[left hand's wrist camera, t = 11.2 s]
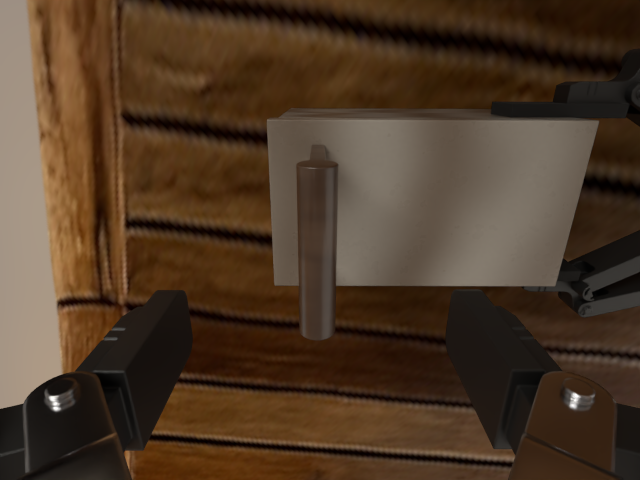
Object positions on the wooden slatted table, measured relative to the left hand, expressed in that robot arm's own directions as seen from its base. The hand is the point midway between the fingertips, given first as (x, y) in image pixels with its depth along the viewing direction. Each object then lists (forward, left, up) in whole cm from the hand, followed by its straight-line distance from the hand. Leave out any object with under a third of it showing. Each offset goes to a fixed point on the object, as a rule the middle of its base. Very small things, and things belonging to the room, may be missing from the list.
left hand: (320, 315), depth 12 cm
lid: (-1, +6, -12) cm, 13 cm away
